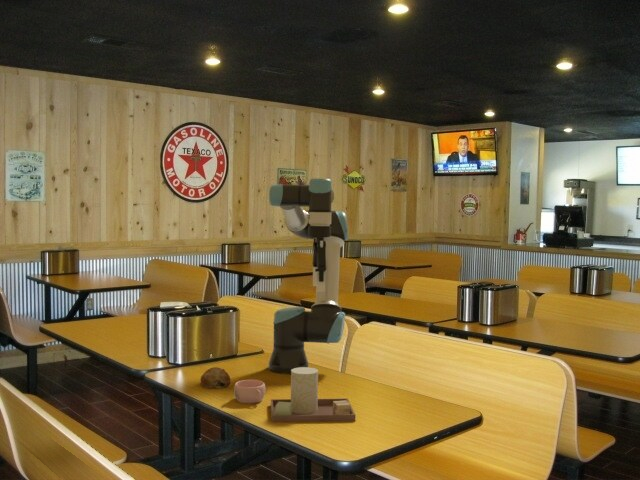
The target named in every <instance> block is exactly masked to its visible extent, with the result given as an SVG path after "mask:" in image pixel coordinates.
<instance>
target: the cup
mask: <svg viewBox="0 0 640 480" xmlns="http://www.w3.org/2000/svg"><path fill="white" fill-rule="evenodd" d="M290 374H291V375H290V399H291V402H292V412H294V413H299V414H310V413H314V412H316V411H317V407H318V399H319V398H318V396H319V369H317V368H314V367H310V366H308V367H299V368H294V369H292V370H291V373H290Z"/></svg>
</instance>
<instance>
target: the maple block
mask: <svg viewBox="0 0 640 480" xmlns="http://www.w3.org/2000/svg"><path fill="white" fill-rule="evenodd" d="M350 404H351V403H350ZM350 404H349V403H348V402H347V401H346V400H344V401H333V414H350Z"/></svg>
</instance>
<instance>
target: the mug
mask: <svg viewBox="0 0 640 480" xmlns="http://www.w3.org/2000/svg"><path fill="white" fill-rule="evenodd" d="M266 390H267V389H266V384H265V382H263V381H262V380H257V379H244V380H243V379H242V380H238V381H237V382H235V383H234V386H233V393H234V397H235V400H236V401H237V402H238V403H241V404H247V405H248V404H257V403H261V402H262V401H263V400H264V396H265V395H266Z"/></svg>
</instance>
